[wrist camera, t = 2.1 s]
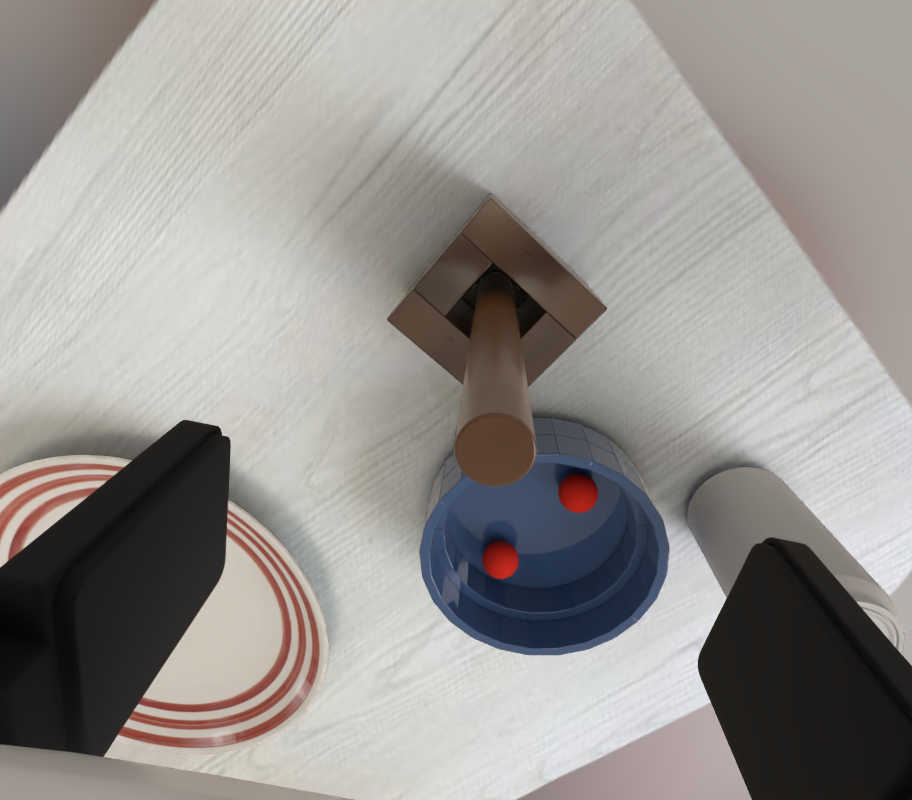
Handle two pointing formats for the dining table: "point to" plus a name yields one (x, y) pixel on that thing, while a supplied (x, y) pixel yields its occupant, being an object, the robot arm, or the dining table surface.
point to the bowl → (547, 548)
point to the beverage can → (780, 516)
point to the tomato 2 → (578, 493)
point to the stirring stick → (495, 393)
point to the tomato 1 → (500, 559)
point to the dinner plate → (201, 623)
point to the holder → (524, 261)
